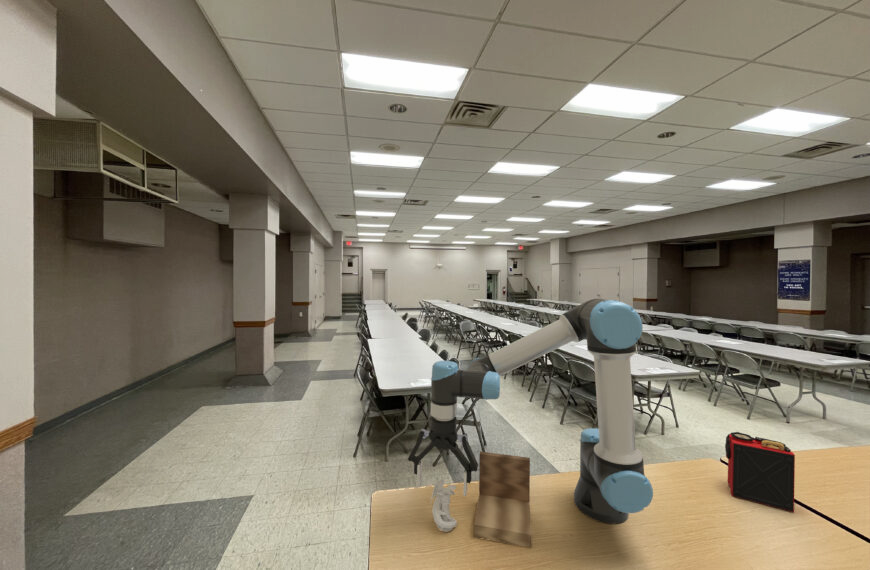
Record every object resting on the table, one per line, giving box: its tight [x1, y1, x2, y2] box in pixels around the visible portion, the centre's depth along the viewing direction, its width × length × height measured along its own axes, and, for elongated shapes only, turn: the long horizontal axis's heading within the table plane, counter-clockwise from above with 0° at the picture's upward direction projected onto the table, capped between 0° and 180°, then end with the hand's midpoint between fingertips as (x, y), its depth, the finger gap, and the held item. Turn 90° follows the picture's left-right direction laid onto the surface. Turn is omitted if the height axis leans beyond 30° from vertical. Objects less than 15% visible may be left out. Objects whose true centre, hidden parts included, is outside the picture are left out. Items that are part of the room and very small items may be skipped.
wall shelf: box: [473, 451, 533, 549], centre depth 95 cm, size 15×15×16 cm
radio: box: [724, 431, 796, 513], centre depth 108 cm, size 16×10×20 cm, turn 58°
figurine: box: [429, 474, 458, 533], centre depth 96 cm, size 11×8×12 cm
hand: (441, 488), depth 96 cm, fingers open, 13 cm apart
